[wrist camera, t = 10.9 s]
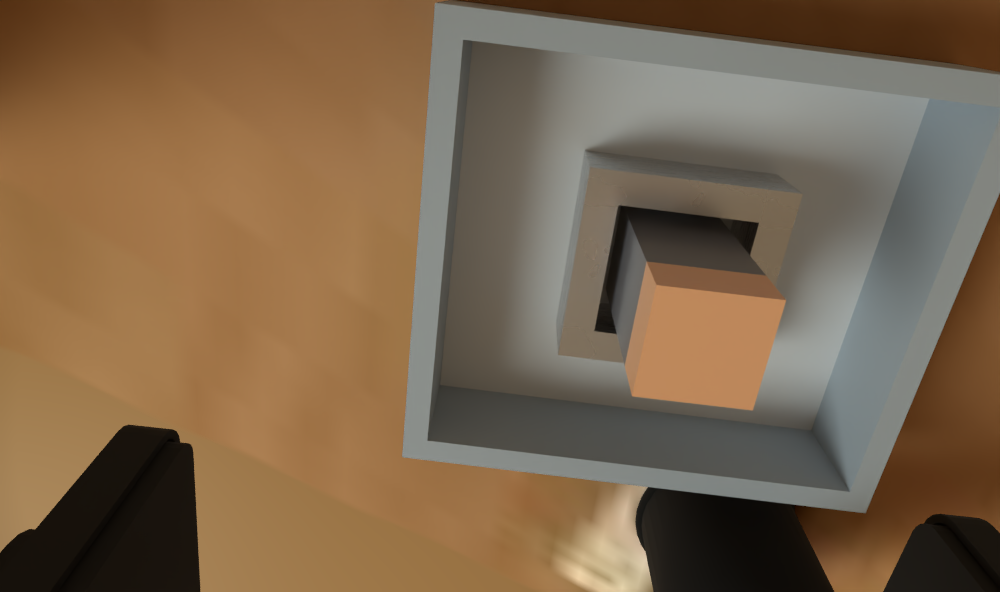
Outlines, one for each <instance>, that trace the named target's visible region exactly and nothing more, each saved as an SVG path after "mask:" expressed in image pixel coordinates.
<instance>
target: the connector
mask: <svg viewBox="0 0 1000 592" xmlns="http://www.w3.org/2000/svg"><path fill="white" fill-rule="evenodd" d="M606 292H607V296H608V300H609V304H610V308H611V312H612V316H613V320H614V325H615V329H616V333H617V337H618V341H619V345H620V349H621V353H622V357H623V361H624V366H625V370H626V374H627V378H628V382H629V386H630V390H631V394H632V396H633V397H641V398H650V399H659V400H667V401H676V402H684V403H693V404H701V405H710V406H719V407H727V408H736V409H744V410H753V408H754V405H755V402H756V398H757V395H758V392H759V388H760V385H761V382H762V379H763V375H764V372H765V369H766V365H767V362H768V359H769V356H770V352H771V349H772V346H773V342H774V339H775V336H776V333H777V329H778V326H779V323H780V319H781V316H782V313H783V310H784V306H785V303H786V299H785V298H784V297H783V296H782V294H781V293H780V292H779V291H778V289H777V288H776V287H775V286H774V285H773V283H772V282H771V281H770V280H769V278H768V277H767V276H766V275H765V273H764V272H763V271H762V270H761V268H760V267H759V266H758V265H757V264H756V262H755V261H754V260H753V259H752V257H751V256H750V255H749V254H748V252H747V251H746V250H745V249H744V247H743V246H742V245H741V244H740V243H739V241H738V240H737V239H736V238H735V236H734V235H733V234H732V233H731V231H730V230H729V229H728V228H727V226H726V225H725V224H724V223H723V222H722V220H721V219H720V218H717V217H709V216H701V215H693V214H685V213H677V212H669V211H661V210H653V209H645V208H637V207H629V206H621V209H620V214H619V220H618V225H617V230H616V236H615V241H614V246H613V252H612V257H611V262H610V268H609V273H608V279H607V284H606Z"/></svg>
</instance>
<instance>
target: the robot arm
mask: <svg viewBox="0 0 1000 592" xmlns="http://www.w3.org/2000/svg"><path fill="white" fill-rule="evenodd" d="M196 518H197V517H196V497H195V480H194V458H193V449H192V446H191V445H190V444H188V443H180V439H179V435H178V433H177V432H176V431H175V430H172V429H163V428H154V427H144V426H135V425H127V426H124V427H122V428H121V429H120V430H119V431H118V432H117V433H116V434H115V436H114V437H113V438H112V439H111V440H110V442H109V443H108V444H107V445H106V446H105V448H104V449H103V450H102V451H101V452H100V453H99V455H98V456H97V457H96V458H95V459H94V461H93V462H92V463H91V464H90V466H89V467H88V468H87V469H86V470H85V471H84V473H83V474H82V475H81V476H80V477H79V479H78V480H77V481H76V482H75V483H74V484H73V486H72V487H71V488H70V489H69V491H67V493H66V494H65V495H64V496H63V497H62V499H61V500H60V501H59V502H58V503H57V505H56V506H55V507H54V508H53V509H52V511H51V512H50V513H49V514H48V515H47V516H46V518H45V519H44V520H43V521H42V522H41V523H40V525H39V526H38V527H37V528H36V529H35V530H33V529H29V530H27V531H25V532H22V533H20V534H18V535H17V536H16V537H15V538H14V539H13V540H12V541H11V542H10V543H9V544H8V545H7V546H6V547H5V548H4V549H3V550H2V551H1V553H0V592H200V578H199V577H200V576H199V557H198V537H197V519H196ZM883 592H1000V533H999V532H998V531H997V530H996V529H995V528H994V527H993V526H992V525H991V524H990V523H988V522H987V521H985V520H982V519H980V518H972V517H963V516H954V515H945V514H935V515H932V516H931V517H929V518H928V519H927V520H926V521H925V523H924V524H920V525H918V526H917V527H916V528H915V529H914V530H913V532H912V534H911V536H910V538H909V540H908V542H907V544H906V546H905V548H904V550H903V552H902V554H901V556H900V558H899V561H898V563H897V565H896V567H895V569H894V571H893V573H892V575H891V577H890V579H889V581H888V583H887V585H886V587H885V589H884V591H883Z"/></svg>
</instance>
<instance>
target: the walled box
mask: <svg viewBox="0 0 1000 592" xmlns="http://www.w3.org/2000/svg"><path fill="white" fill-rule="evenodd" d="M585 150H589V151H597V152H605V153H613V154H620V155H628V156H636V157H644V158H652V159H660V160H668V161H676V162H684V163H692V164H700V165H708V166H716V167H724V168H732V169H740V170H748V171H756V172H764V173H772V174H778V175H779V176H780V177H782V178H783V179H784V180H786V181H787V182H788V183H789V184H791V185H792V186H793V187H795V188H796V189H797V190H799V191H800V192H801V193H803V196H802V199H801V202H800V206H799V209H798V212H797V216H796V219H795V222H794V226H793V229H792V232H791V236H790V239H789V242H788V245H787V249H786V252H785V255H784V259H783V262H782V265H781V269H780V272H779V275H778V279H777V282H776V285H775V287H776V288H777V289H778V291H779V292H780V293H781V294H782V296H783V297H784V298H785V299H786V303H785V306H784V310H783V313H782V316H781V319H780V323H779V326H778V329H777V333H776V336H775V339H774V342H773V346H772V349H771V352H770V356H769V359H768V362H767V365H766V369H765V372H764V375H763V379H762V382H761V385H760V388H759V392H758V395H757V398H756V402H755V405H754V408H753V410H744V409H736V408H727V407H719V406H710V405H701V404H693V403H684V402H676V401H667V400H659V399H650V398H641V397H633V396H632V394H631V390H630V386H629V382H628V378H627V374H626V370H625V366H624V363H618V362H610V361H602V360H594V359H586V358H578V357H570V356H561V355H558V347H557V333H556V319H557V313H558V307H559V301H560V295H561V289H562V283H563V277H564V271H565V265H566V259H567V253H568V247H569V241H570V235H571V229H572V223H573V217H574V211H575V205H576V199H577V193H578V187H579V181H580V175H581V169H582V163H583V157H584V151H585ZM999 193H1000V72H997V71H992V70H986V69H981V68H975V67H970V66H964V65H959V64H952V63H944V62H936V61H929V60H921V59H913V58H905V57H897V56H889V55H881V54H873V53H866V52H858V51H850V50H842V49H834V48H826V47H818V46H811V45H803V44H795V43H787V42H779V41H771V40H763V39H756V38H748V37H740V36H732V35H724V34H716V33H708V32H700V31H693V30H685V29H677V28H669V27H661V26H653V25H645V24H638V23H630V22H622V21H614V20H606V19H598V18H590V17H582V16H575V15H567V14H559V13H551V12H543V11H535V10H527V9H520V8H512V7H504V6H496V5H488V4H480V3H472V2H465V1H457V0H449V1H443V2H438V3H435V12H434V26H433V40H432V54H431V68H430V81H429V95H428V109H427V123H426V137H425V150H424V164H423V178H422V192H421V206H420V219H419V233H418V247H417V261H416V275H415V288H414V302H413V316H412V330H411V344H410V357H409V371H408V385H407V399H406V413H405V426H404V440H403V454H402V457H405V458H414V459H422V460H430V461H438V462H447V463H455V464H463V465H471V466H480V467H488V468H496V469H504V470H513V471H521V472H529V473H537V474H546V475H554V476H562V477H570V478H579V479H587V480H595V481H603V482H612V483H620V484H628V485H636V486H645V487H653V488H661V489H669V490H678V491H686V492H694V493H702V494H711V495H719V496H727V497H735V498H744V499H752V500H760V501H768V502H777V503H785V504H793V505H801V506H810V507H818V508H826V509H834V510H843V511H851V512H859V513H866V511H867V508H868V506H869V504H870V501H871V499H872V496H873V494H874V492H875V489H876V487H877V484H878V482H879V480H880V477H881V475H882V473H883V470H884V468H885V465H886V463H887V461H888V458H889V456H890V453H891V451H892V449H893V446H894V444H895V442H896V439H897V437H898V434H899V432H900V430H901V427H902V425H903V422H904V420H905V418H906V415H907V413H908V411H909V408H910V406H911V403H912V401H913V399H914V396H915V394H916V391H917V389H918V387H919V384H920V382H921V380H922V377H923V375H924V372H925V370H926V368H927V365H928V363H929V360H930V358H931V356H932V353H933V351H934V349H935V346H936V344H937V341H938V339H939V337H940V334H941V332H942V329H943V327H944V325H945V322H946V320H947V318H948V315H949V313H950V310H951V308H952V306H953V303H954V301H955V298H956V296H957V294H958V291H959V289H960V287H961V284H962V282H963V279H964V277H965V275H966V272H967V270H968V267H969V265H970V263H971V260H972V258H973V256H974V253H975V251H976V248H977V246H978V244H979V241H980V239H981V236H982V234H983V232H984V229H985V227H986V225H987V222H988V220H989V217H990V215H991V213H992V210H993V208H994V205H995V203H996V201H997V198H998V196H999ZM620 209H621V205H618V210H617V215H616V220H615V226H614V231H613V236H612V241H611V246H610V252H609V257H608V262H607V267H606V272H605V278H604V283H603V288H602V293H601V298H600V303H607V304H609V300H608V296H607V292H606V284H607V279H608V273H609V268H610V262H611V257H612V252H613V246H614V241H615V236H616V230H617V225H618V220H619V214H620ZM720 219H721V220H722V222H723V223H724V224H725V225H726V226H727V228H728V229H729V230H730V229H731V225H732V222H733V219H725V218H720Z"/></svg>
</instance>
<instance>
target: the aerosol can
mask: <svg viewBox="0 0 1000 592" xmlns="http://www.w3.org/2000/svg"><path fill="white" fill-rule="evenodd" d="M635 523H636V530H637V535H638V538H639V540H640V543H641V545H642V547H643V548H644V550H645V551H646V556H647V561H648V566H649V571H650V576H651V580H652V585H653V590H654V592H834V590H833V588H832V586H831V584H830V582H829V580H828V578H827V576H826V574H825V572H824V570H823V568H822V566H821V564H820V562H819V560H818V558H817V556H816V554H815V552H814V550H813V548H812V546H811V544H810V542H809V540H808V538H807V536H806V534H805V532H804V530H803V528H802V526H801V524H800V522H799V520H798V518H797V516H796V514H795V506H794V505H793V504H785V503H777V502H768V501H760V500H752V499H744V498H735V497H727V496H719V495H711V494H702V493H694V492H686V491H678V490H669V489H661V488H653V487H648V488H647V490H646V491H645V493H644V494H643V496H642V498H641V500H640V503H639V506H638V508H637V514H636V522H635Z"/></svg>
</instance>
